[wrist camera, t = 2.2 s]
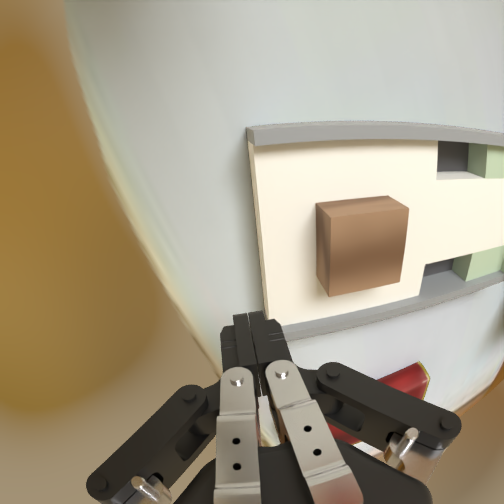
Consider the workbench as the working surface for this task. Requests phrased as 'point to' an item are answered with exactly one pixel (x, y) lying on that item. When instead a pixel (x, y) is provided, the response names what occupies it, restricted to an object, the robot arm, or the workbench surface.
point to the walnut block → (360, 243)
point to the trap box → (371, 185)
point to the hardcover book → (404, 380)
